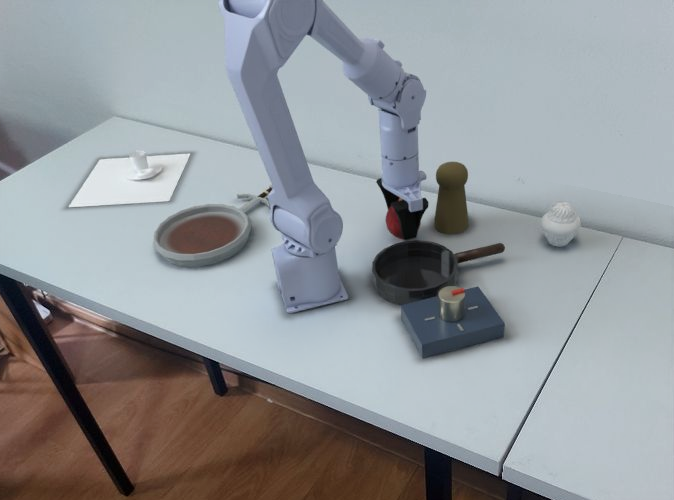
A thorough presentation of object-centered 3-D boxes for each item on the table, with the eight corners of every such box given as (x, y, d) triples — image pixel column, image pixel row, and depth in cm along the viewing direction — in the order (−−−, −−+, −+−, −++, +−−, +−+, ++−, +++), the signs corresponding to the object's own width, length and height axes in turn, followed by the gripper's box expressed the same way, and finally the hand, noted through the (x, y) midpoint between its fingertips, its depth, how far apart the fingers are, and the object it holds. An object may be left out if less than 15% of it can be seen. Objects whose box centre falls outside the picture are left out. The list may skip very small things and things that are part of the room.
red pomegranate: (418, 249, 108) (417, 206, 103) (384, 247, 109) (381, 205, 104) (423, 230, 112) (422, 188, 107) (390, 228, 113) (387, 187, 108)
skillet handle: (453, 266, 102) (454, 258, 100) (450, 260, 103) (450, 252, 102) (506, 253, 103) (507, 245, 102) (502, 248, 104) (502, 240, 103)
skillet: (388, 314, 96) (387, 298, 94) (363, 266, 106) (362, 251, 104) (470, 294, 99) (471, 278, 96) (439, 248, 108) (439, 233, 106)
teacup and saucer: (157, 182, 132) (151, 163, 129) (118, 184, 132) (111, 166, 130) (167, 162, 138) (161, 143, 136) (130, 164, 139) (124, 146, 136)
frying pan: (309, 189, 121) (200, 265, 104) (311, 203, 123) (204, 280, 106) (241, 169, 128) (129, 237, 112) (244, 183, 130) (135, 252, 114)
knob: (444, 324, 90) (444, 302, 87) (434, 309, 93) (434, 287, 90) (468, 318, 91) (469, 296, 88) (458, 303, 93) (459, 281, 91)
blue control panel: (422, 358, 89) (421, 343, 87) (401, 318, 96) (400, 304, 94) (503, 336, 91) (505, 322, 89) (477, 299, 98) (478, 284, 96)
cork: (459, 237, 110) (460, 177, 102) (427, 229, 112) (426, 170, 105) (475, 219, 113) (477, 161, 106) (443, 212, 116) (443, 154, 109)
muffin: (585, 238, 107) (591, 200, 102) (565, 256, 104) (571, 218, 99) (551, 226, 110) (556, 189, 105) (531, 243, 107) (535, 205, 102)
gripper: (441, 167, 96) (441, 245, 105) (409, 128, 106) (411, 202, 115) (395, 177, 94) (399, 255, 104) (367, 136, 105) (373, 211, 114)
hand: (403, 228), depth 109 cm, fingers closed on red pomegranate, 6 cm apart
